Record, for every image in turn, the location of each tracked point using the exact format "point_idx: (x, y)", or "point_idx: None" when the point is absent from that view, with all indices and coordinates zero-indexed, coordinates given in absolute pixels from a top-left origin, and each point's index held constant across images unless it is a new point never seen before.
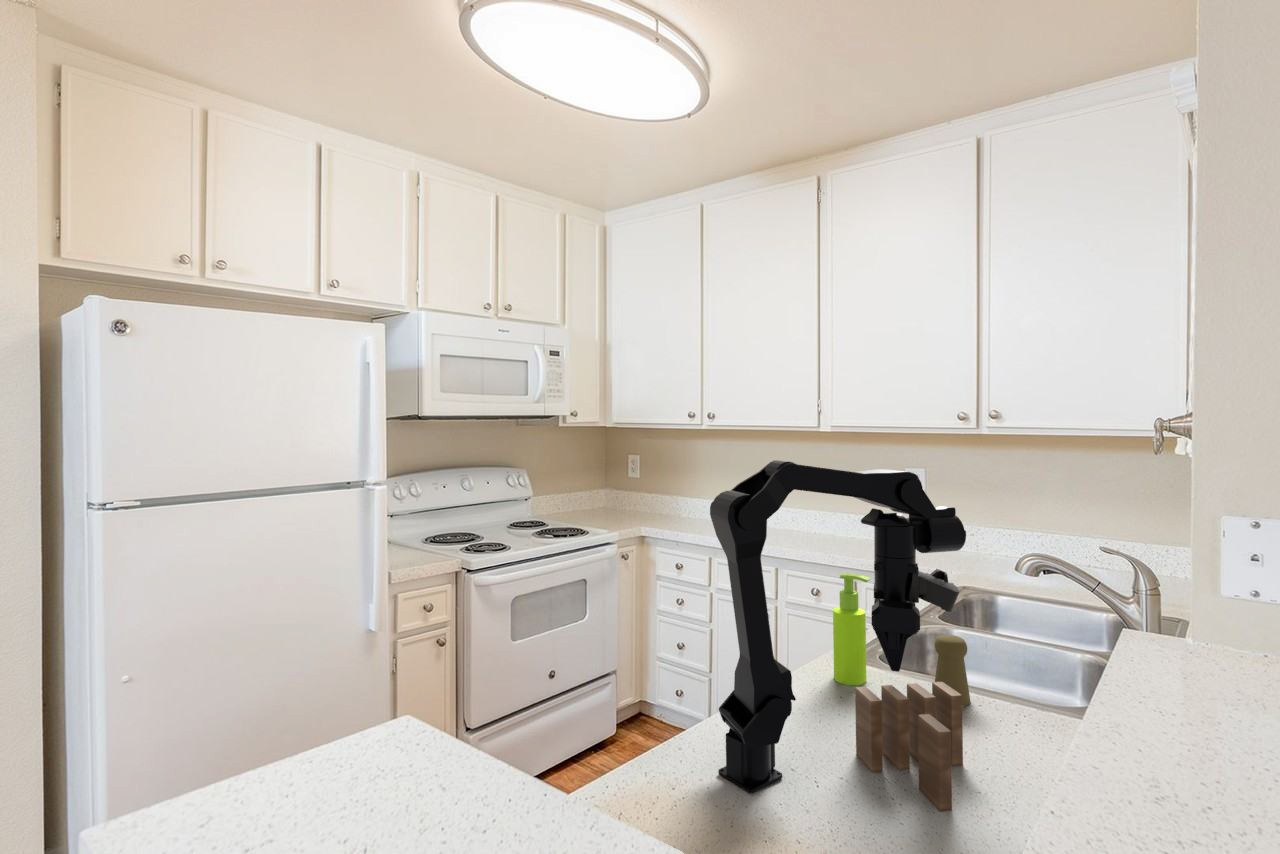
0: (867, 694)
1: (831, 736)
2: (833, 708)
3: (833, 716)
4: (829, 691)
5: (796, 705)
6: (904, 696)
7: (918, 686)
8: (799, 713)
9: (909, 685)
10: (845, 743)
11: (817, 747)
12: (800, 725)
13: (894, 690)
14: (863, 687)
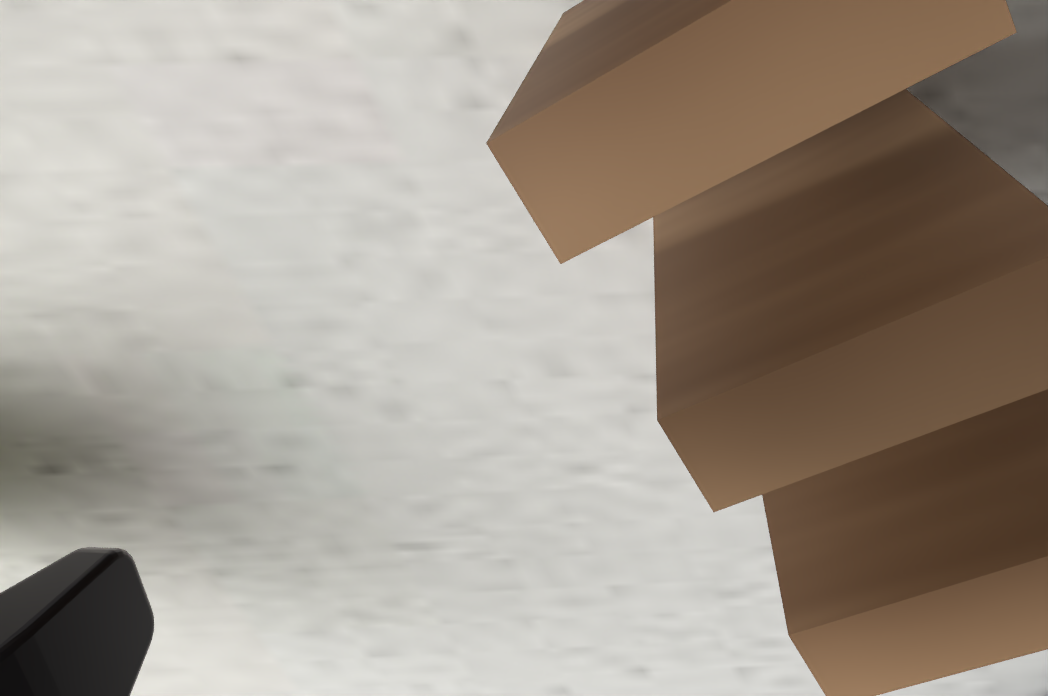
0: (1008, 625)
1: (572, 489)
2: (221, 496)
3: (321, 492)
4: (19, 523)
5: (287, 644)
6: (1009, 291)
7: (599, 123)
8: (371, 629)
9: (605, 233)
10: (630, 424)
11: (727, 541)
12: (506, 618)
13: (830, 394)
14: (816, 650)
